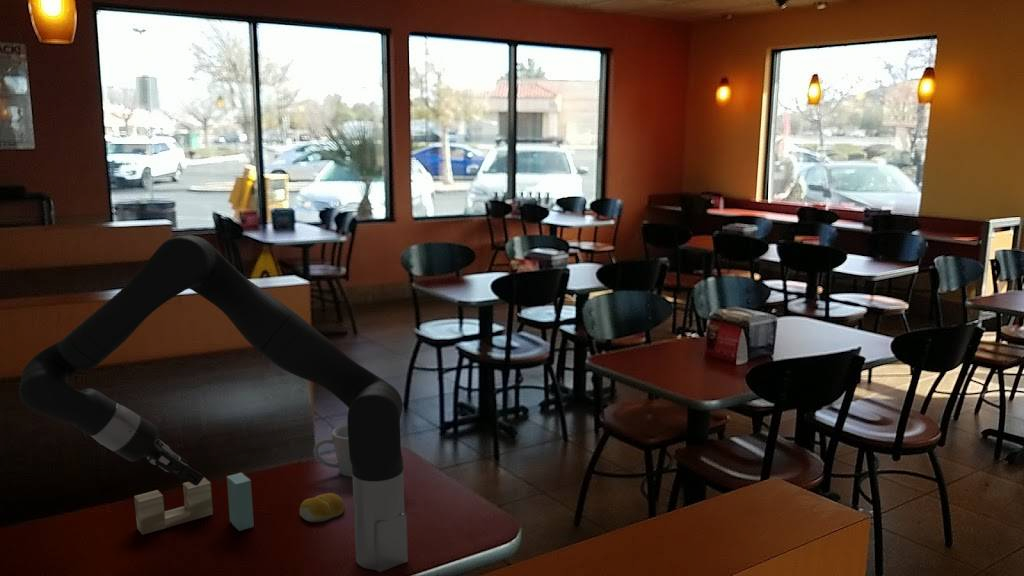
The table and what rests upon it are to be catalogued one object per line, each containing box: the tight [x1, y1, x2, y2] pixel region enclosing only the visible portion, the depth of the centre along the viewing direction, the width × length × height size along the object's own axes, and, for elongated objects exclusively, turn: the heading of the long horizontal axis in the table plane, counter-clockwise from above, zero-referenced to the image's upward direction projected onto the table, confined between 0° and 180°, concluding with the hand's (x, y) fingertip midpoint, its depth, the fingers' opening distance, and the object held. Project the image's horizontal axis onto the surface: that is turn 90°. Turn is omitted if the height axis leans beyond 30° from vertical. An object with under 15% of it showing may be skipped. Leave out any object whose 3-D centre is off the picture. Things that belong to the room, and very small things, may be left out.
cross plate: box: [226, 472, 255, 532], centre depth 165 cm, size 5×3×10 cm, turn 39°
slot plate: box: [133, 477, 214, 535], centre depth 166 cm, size 4×14×7 cm, turn 129°
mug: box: [312, 424, 353, 478], centre depth 190 cm, size 10×15×10 cm
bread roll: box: [299, 492, 345, 523], centre depth 170 cm, size 8×9×4 cm
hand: (192, 474), depth 158 cm, fingers open, 8 cm apart
